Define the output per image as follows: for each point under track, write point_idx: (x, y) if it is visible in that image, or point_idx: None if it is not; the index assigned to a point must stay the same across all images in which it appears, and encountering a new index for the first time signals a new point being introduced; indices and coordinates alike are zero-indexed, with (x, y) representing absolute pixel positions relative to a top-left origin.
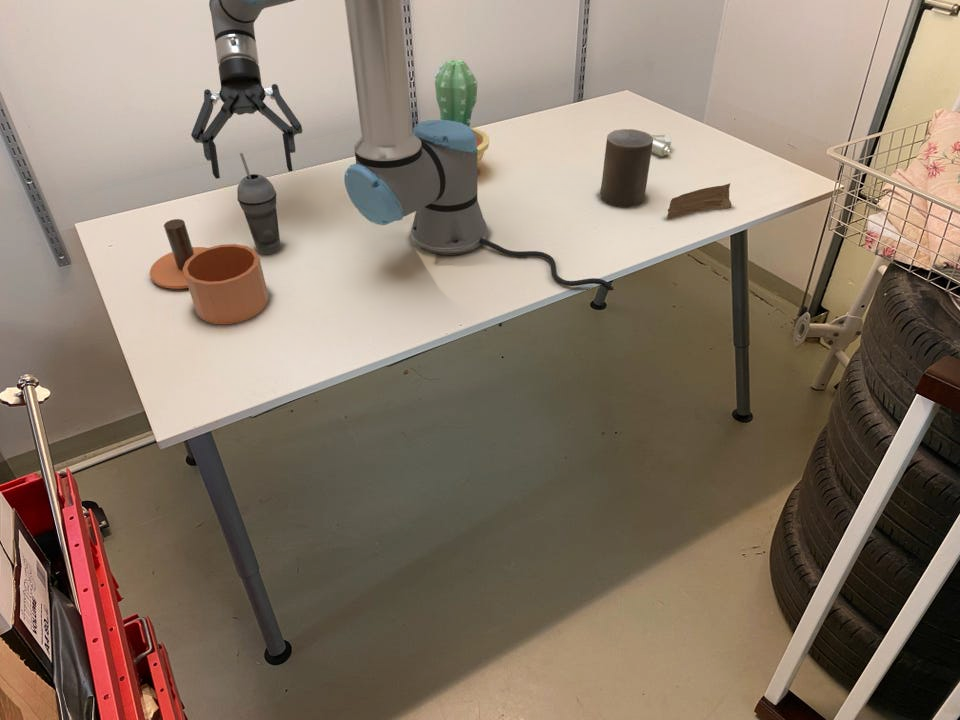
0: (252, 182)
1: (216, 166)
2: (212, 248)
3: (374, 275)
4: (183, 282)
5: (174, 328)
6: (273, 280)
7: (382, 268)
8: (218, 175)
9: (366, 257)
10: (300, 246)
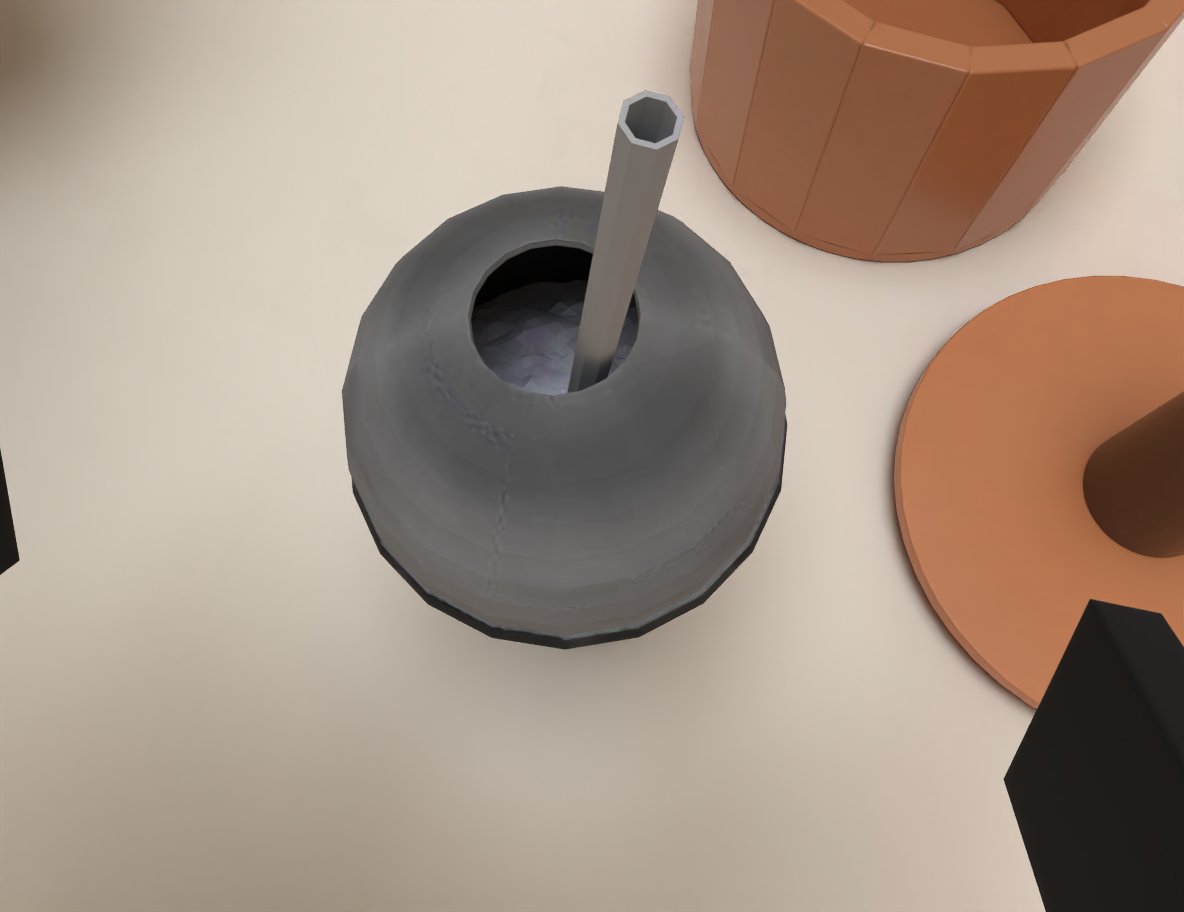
0: (586, 211)
1: (1119, 734)
2: (1032, 44)
3: (122, 53)
4: (1161, 312)
5: None
6: None
7: (53, 93)
8: (1043, 706)
9: (72, 220)
10: None
